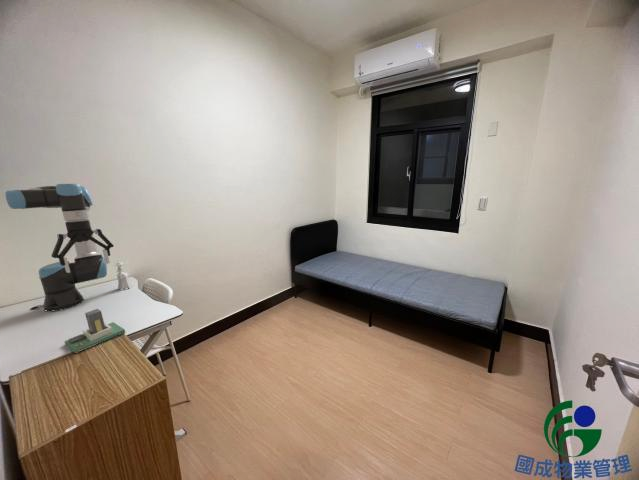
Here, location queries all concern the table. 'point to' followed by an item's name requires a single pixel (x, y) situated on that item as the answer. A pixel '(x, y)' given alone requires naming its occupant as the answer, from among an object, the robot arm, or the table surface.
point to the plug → (95, 321)
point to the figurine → (122, 277)
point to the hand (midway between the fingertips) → (89, 267)
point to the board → (93, 337)
